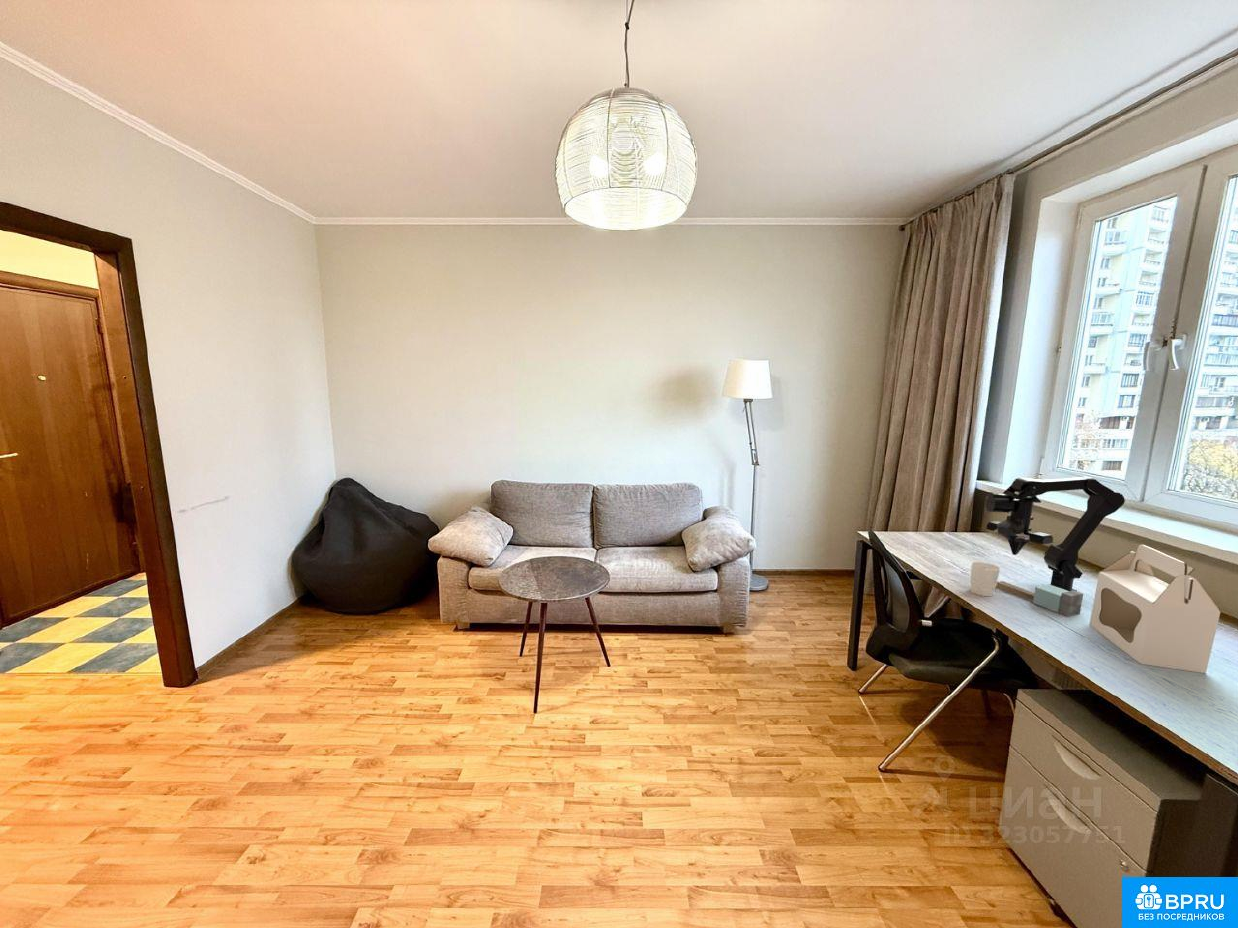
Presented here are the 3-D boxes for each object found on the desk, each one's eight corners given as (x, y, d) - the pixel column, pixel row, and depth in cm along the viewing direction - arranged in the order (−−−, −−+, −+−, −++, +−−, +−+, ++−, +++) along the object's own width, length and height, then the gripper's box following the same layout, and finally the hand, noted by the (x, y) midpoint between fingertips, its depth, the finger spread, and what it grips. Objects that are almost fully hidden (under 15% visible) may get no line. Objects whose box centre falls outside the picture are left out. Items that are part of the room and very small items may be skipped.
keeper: (1046, 599, 160) (1049, 584, 159) (1071, 609, 154) (1074, 593, 153) (1032, 602, 158) (1035, 586, 157) (1057, 612, 151) (1060, 595, 150)
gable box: (1207, 674, 120) (1232, 571, 115) (1140, 664, 124) (1161, 564, 119) (1143, 631, 140) (1162, 542, 136) (1088, 624, 145) (1104, 538, 140)
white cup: (1000, 598, 162) (1005, 571, 160) (975, 596, 163) (979, 569, 162) (988, 588, 170) (991, 562, 168) (963, 586, 171) (967, 560, 169)
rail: (1004, 585, 172) (1007, 567, 171) (1079, 613, 151) (1083, 593, 150) (993, 587, 170) (995, 569, 169) (1067, 616, 149) (1071, 596, 148)
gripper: (978, 508, 174) (972, 548, 177) (1035, 522, 156) (1028, 566, 159) (999, 506, 177) (993, 545, 180) (1057, 519, 160) (1050, 562, 163)
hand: (1014, 554), depth 170 cm, fingers closed
